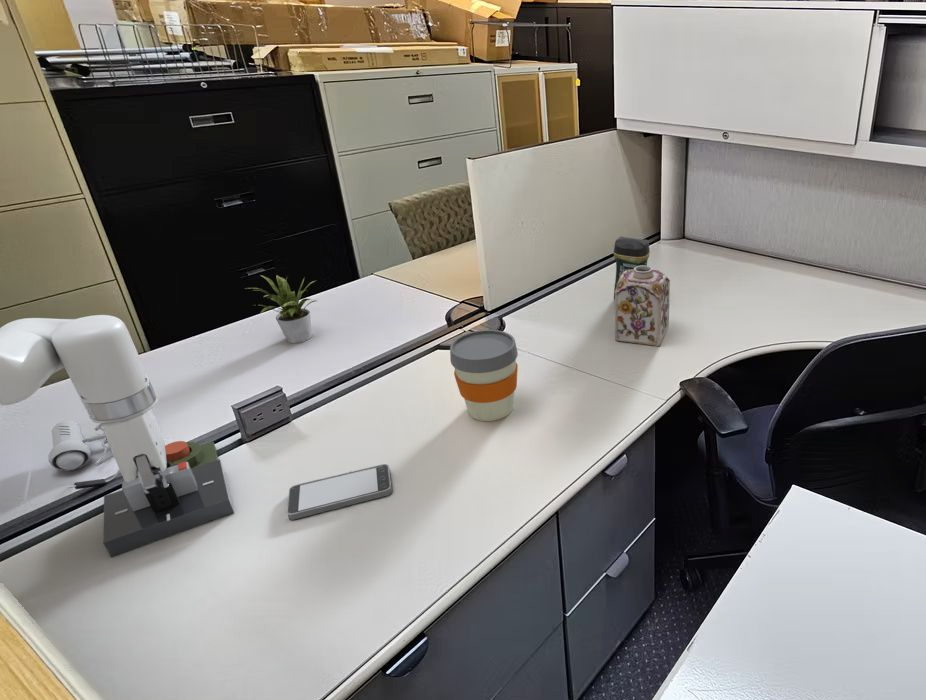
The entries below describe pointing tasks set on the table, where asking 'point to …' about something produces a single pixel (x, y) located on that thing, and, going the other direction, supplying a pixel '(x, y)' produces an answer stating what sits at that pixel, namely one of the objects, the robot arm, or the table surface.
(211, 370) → the table surface
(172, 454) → the button
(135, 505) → the bevelled grey block
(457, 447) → the table surface
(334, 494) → the smartphone
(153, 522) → the dial base
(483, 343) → the reusable coffee cup
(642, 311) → the decorative jar
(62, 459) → the clip-on lamp
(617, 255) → the coffee jar
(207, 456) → the button housing
